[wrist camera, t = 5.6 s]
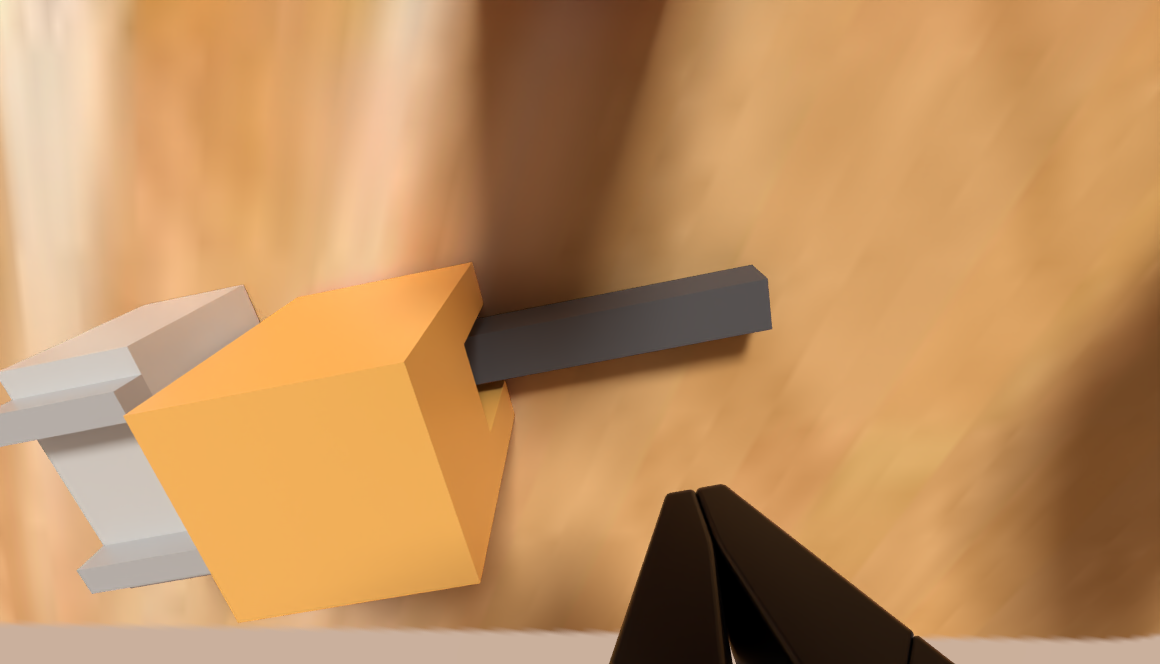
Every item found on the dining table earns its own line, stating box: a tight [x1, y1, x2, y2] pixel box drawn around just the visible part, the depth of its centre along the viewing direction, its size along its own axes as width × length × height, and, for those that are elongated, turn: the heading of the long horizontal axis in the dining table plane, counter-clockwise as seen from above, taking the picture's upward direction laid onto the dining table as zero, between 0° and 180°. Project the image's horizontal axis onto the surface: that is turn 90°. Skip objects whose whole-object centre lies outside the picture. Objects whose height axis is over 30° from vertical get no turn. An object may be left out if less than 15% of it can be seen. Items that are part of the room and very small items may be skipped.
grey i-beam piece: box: [0, 285, 260, 594], centre depth 15 cm, size 3×6×5 cm, turn 12°
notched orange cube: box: [123, 262, 515, 623], centre depth 14 cm, size 5×5×7 cm
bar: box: [464, 265, 772, 385], centre depth 16 cm, size 17×1×1 cm, turn 102°
